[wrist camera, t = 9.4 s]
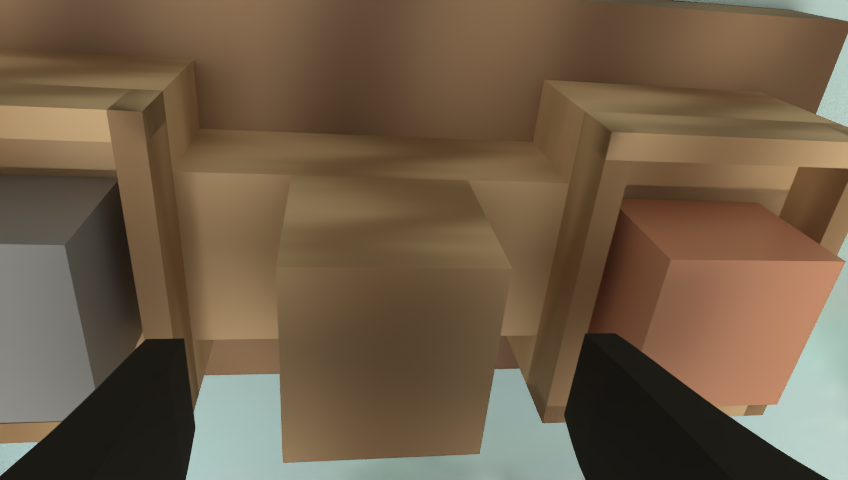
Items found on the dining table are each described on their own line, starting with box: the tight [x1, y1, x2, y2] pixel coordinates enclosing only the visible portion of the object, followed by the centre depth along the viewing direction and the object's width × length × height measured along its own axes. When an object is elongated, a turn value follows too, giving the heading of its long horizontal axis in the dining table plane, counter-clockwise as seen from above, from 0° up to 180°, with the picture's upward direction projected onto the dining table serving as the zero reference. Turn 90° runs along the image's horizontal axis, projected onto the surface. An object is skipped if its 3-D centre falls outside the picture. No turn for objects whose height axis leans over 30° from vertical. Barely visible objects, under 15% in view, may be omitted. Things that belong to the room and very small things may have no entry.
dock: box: [0, 0, 848, 375], centre depth 18 cm, size 26×12×2 cm, turn 85°
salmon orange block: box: [587, 199, 845, 406], centre depth 14 cm, size 4×4×3 cm
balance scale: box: [0, 49, 848, 463], centre depth 14 cm, size 22×8×7 cm, turn 85°
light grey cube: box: [0, 174, 143, 423], centre depth 12 cm, size 4×4×3 cm
